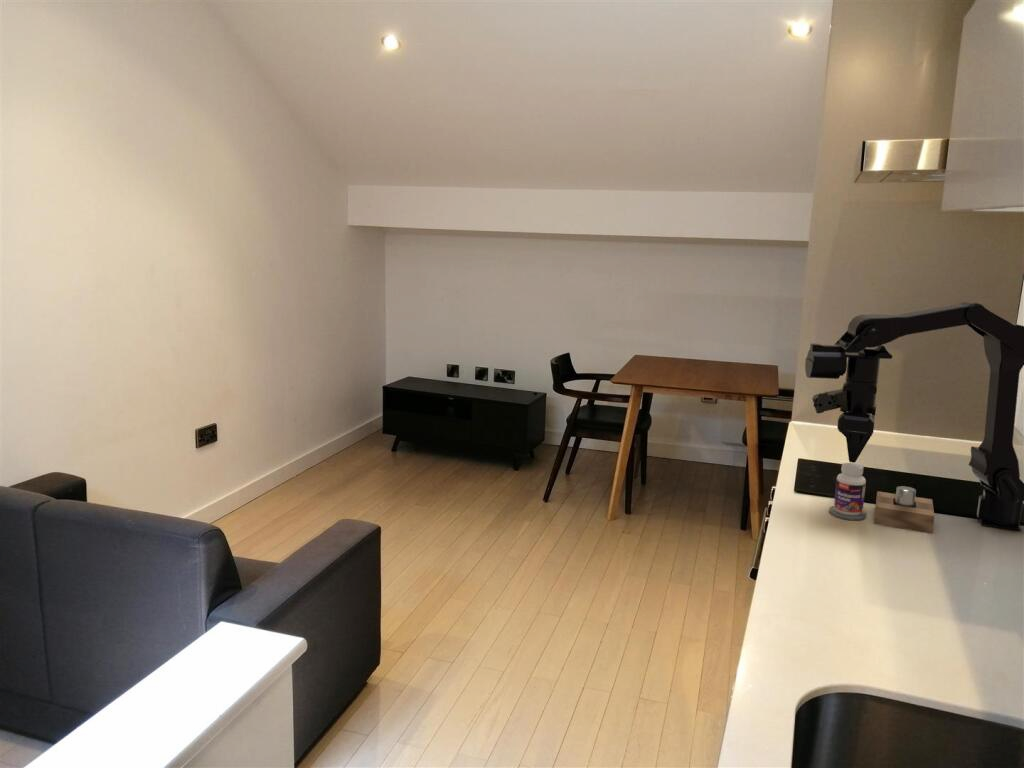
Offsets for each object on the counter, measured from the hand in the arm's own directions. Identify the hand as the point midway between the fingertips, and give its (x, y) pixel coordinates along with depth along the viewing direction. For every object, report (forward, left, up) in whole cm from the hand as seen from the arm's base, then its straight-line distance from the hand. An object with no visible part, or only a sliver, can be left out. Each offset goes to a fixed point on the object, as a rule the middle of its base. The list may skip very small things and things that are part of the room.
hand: (853, 455), depth 147 cm
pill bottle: (0, 0, -12) cm, 12 cm away
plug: (-10, -2, -12) cm, 16 cm away
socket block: (-10, -2, -12) cm, 16 cm away
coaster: (0, 0, -12) cm, 12 cm away
